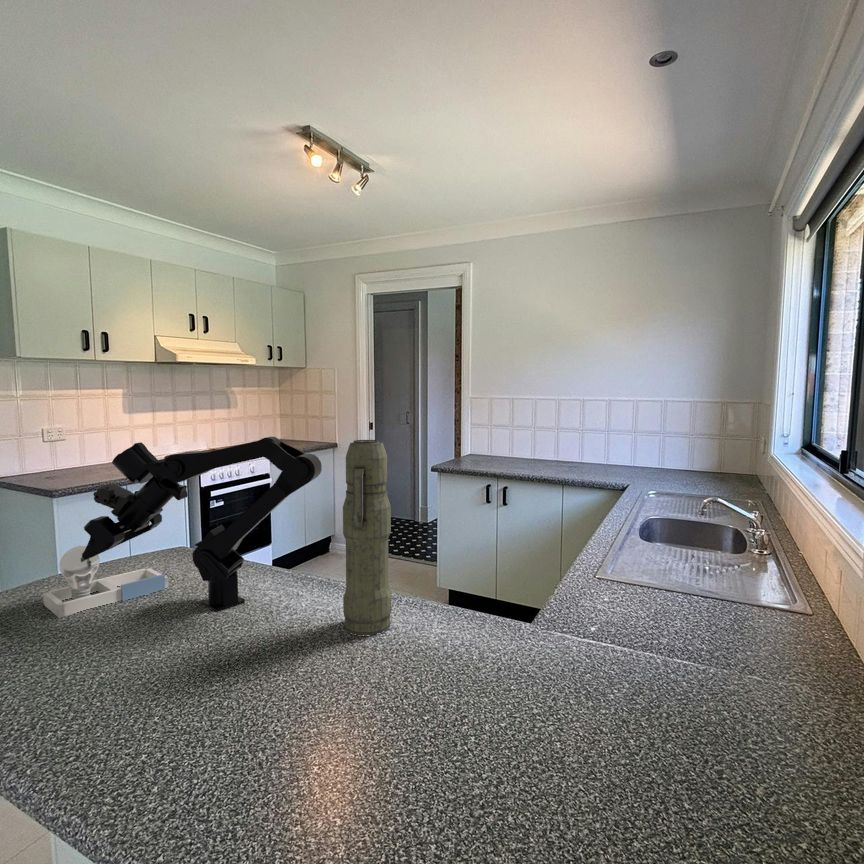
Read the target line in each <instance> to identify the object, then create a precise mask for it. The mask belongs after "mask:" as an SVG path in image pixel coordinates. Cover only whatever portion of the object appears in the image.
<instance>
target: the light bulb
mask: <svg viewBox="0 0 864 864" xmlns="http://www.w3.org/2000/svg"><path fill="white" fill-rule="evenodd" d="M86 546H87V545H79V546H75V547H72V548H70V549H68V550H67V551H66V552H64V554H63V555H62V556H61V559H60V561H59V565H58V567H59V571H60V574H61V575H62V576H63V577H64V579H66V581H67V583H68V586H69V587H70V589H71V590H72V591H71V593H72V594H71V595H72V597H71V598H72V600H75V599H79V598H83V597H87V596H91V595H92V594H90V593H91V592H90V586H91V584H92V581H93V578H94V576H95V574H96V572H97V571H98V569H99V566H100V563H101V560H100V556H99V554H98V555H96V556H93V557H91V558H89V559H87V560H85V559H84V558H83V557H82V555H83V553H84V551H85V549H86Z"/></svg>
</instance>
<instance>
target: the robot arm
mask: <svg viewBox="0 0 864 864" xmlns="http://www.w3.org/2000/svg"><path fill="white" fill-rule="evenodd" d="M261 458H265V459H266V460H267V461H269V462H270V463H271V464H273V465H274V467H276V468H277V469H278V470H279V471H281V472H280V474H279V475H278V476H277V479H275V482H274V484H272V486H270V487H269V488H268V489H267V490H266V491H265V492H264V493H263V494H262V495H261V496H260V497H259V498H257V500H255V501H254V502H253V503H251V505H250V506H249V507H248V508H247V509H245V511H243V512H242V513H241V514H240V515H239V516H238V517H237V518H236V519H235V520H234V521H233V522H232V523H231V524H229V525H228V526H227V527H226V528H225V527H224V526H223V524H220V525H219V526H217V527H215V528H213V529H210V531H208V533H207V534H206V535H205V536H204V537H203V539H202V540H200V541H198V542H197V543H195V544H194V546H195V547H196V548H194V550H193V552H192V555H191V556H192V562H193V565H194V566H195V567H196V568H197V571H198V572H199V575H200V577H201V579H202V581H203V582H207V584H208V585H207V587H208V590H207V591H208V592H207V593H208V598H207V599H204V600H201V604H202V605H203V606H205V605H206V606H205V607H207V608H209V609H212V610H213V611H215V612H218V611H221V610H224V609H228V608H231V607H234V606H237V605H240V604H242V603H246V598H243V597H241V596H239V575H238V570H239V569H241V568H242V566H243V563H244V561H245V557H243V556H242V555H241V554H240V553H239V552H238V551H237V549H238V547H239V546H240V544H241V543H242V541H243V539H244V538H245V537H246V536H247V535H248V534H249V533H250V532H251V531H252V530H253V529H255V528H256V527H257V525H259V524H260V523H261V522H262V521H263V520H264V519H265V518H267V516H269V515H270V514H271V513H272V512H273V511H274V510H275V509H276V508H277V507H278V506H279V505H281V504H282V503H283V502H284V501H285V500H286V499H287V498H288V497H290V495H292V494H293V493H295V492H296V491H298V490H299V489H301V488H302V487H305V486H306V485H307V484H309V483H310V482H312V481H313V480H315V479H317V478H318V477H319V475H321V473H322V469H323V468H322V461H321V460H320V459H319V456H317V455H315V454H314V453H308V452H307V453H305V452H303V450H302V451H301V450H300V449H299V448H296V447H294V446H291V445H290V444H288V443H285V442H283V441H282V440H280V438H277V436H267V437H263V438H261V439H259V440H253V441H251V442H246V443H243V444H237V445H233V446H232V445H231V446H228V447H224V448H220V449H215V450H193V451H185V452H184V451H183V452H178V453H175V454H169V455H168V456H166V457H165V458H161V459H158V458H157V457H156V456H155V455H153V454H152V452H150V450H148V447H147V446H146V445H145V444H144V443H143V442H135V443H134V444H133V445H132V446H130V447H128V448H126V449H124V450H123V451H122V452H121V453H118V454H117V455H116V456H115V457H114V458H113V460H112V461H111V464H112V465H113V466H114V467H115V468H116V469H117V470H118V471H119V473H121V474H122V475H123V476H124V477H125V478H126V479H127V480H128V481H129V482H130V483H131V484H135V483H139V484H143V486H142V487H141V488H139V490H138V491H136V492H135V493H133V492H132V491H131V490H129V489H127V488H124V487H122V486H121V485H118V484H115V483H108V484H105V485H101V486H100V487H98V488H97V489H96V491H94V492H93V500H94V502H95V503H97V504H100V505H102V506H105V507H108V508H110V509H112V510H111V511H110V513H111V514H112V515H113V516H114V517H116V519H117V521H118V522H115V521H114V520H113V519H112V518H111V517H110V516H108V515H107V516H106V515H103V516H102V515H101V516H99V517H96V518H93V519H90V520H89V521H88V522H87V523H86V524H85V525H84V526H83V530H84V531H85V532H86V533H87V534H88V535H89V540H88V543H87V544H86V545H85V546H86V549H85V551H84V553H83V555H82V557H83V558H84V559H85V560H87V559H89V558H91V557H93V556H96V555H98V556H99V555H100V554H102V553H105V552H106V551H109V550H111V549H113V548H116V547H117V546H119V545H122V544H123V543H126V542H128V541H129V540H132V539H134V538H136V537H139V536H141V535H143V534H146V533H147V532H149V531H151V530H153V529H155V528H156V527H158V526H159V525H160V524H161V523H162V522H163V515H162V514H161V513H162V512H163V511H164V507H165V506H166V505H167V503H169V501H170V500H172V499H173V498H175V500H177V501H181V500H183V499H186V498H188V489H187V488H188V486H187V485H186V484H185V485H183V484H182V485H181V482H184V481H187V480H190V479H193V478H196V477H199V476H201V475H204V474H206V473H209V472H210V471H212V470H215V469H217V468H223V467H226V466H231V465H235V464H240V463H244V462H249V461H253V460H256V459H261ZM144 483H145V484H144Z"/></svg>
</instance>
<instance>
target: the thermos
mask: <svg viewBox="0 0 864 864" xmlns="http://www.w3.org/2000/svg"><path fill="white" fill-rule="evenodd" d="M387 483H388V454H387V451H386V449H385V445H384V442H383V441H382V442H381V441H380V440H378V439H356V440H353V442H350V443H349V446H348V447H347V451H346V454H345V484H346V490H345V497H344V498H345V499H344V501H343V505H342V535H343V537H344V539H345V592H344V594H343V597H342V599H343V600H342V601H343V602H342V603H343V604H342V606H343V607H342V608H343V617H344V624H343V625H344V626H343V627H344V630H345V631H346V632H347V631H348V632H349V633H348V632H347V633H348V634H350V633H352V634H356V635H355V636H357V635H373V636H375V635H374V634H377V633H381V634H383V633H384V632H383V631H385V632H387V631H388V630H389V629H390V628H391V623H392V621H391V613H392V592H391V588H390V585H389V537H390V535H391V531H392V530H391V528H392V527H391V525H392V524H391V523H392V516H391V513H392V509H391V507H392V506H391V503H390V500H389V497H388V489H387ZM389 627H390V628H389ZM388 628H389V629H388ZM386 630H387V631H386ZM382 632H383V633H382ZM352 634H351V635H352Z"/></svg>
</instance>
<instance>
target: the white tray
mask: <svg viewBox="0 0 864 864" xmlns="http://www.w3.org/2000/svg"><path fill="white" fill-rule="evenodd" d="M117 586H120V587H117ZM167 587H168V588H169V577H168V576H166V575H165V574H163V573H161V572H159V571H156V570H154V569H152V568H150V567H145V568H141V569H137V570H133V571H127V572H125V573H120V574H114V575H111V576H106V577H103V578H98V579H94V580H93V579H92V584H91V586H90V592H96V591H98V592H99V593H98V592H96V593H94V594H91V596H87V597H83V598H79V599H75V600H71V599H69V598H71V597H72V595H71V594H72V593H71V591H72V590H71V589H70V587H69V585H67V586H65V587H64V586H63V587H60V588H56V589H52V590H51V589H50V590H48V591H47V590H46V591H42V603H43V604H42V605H44V606H45V608H47V609H48V610H50V611H51V613H53V615H55V616H56V617H58V618H59V619H60V618H63V617H68V616H71V615H75V614H78V613H77V612H79V613H81V612H80V611H82V612H84V611H83V610H86V609H90V608H94V607H97V608H99V607H98V606H101V607H103V606H102V605H105V606H107V605H106V604H108V605H111V604H110V603H112V604H115V602H116V603H118V601H119V602H126V601H125V600H127V601H129V600H128V599H130V600H133V599H132V598H134V599H137V598H136V597H138V598H140V597H139V596H142V597H144V596H143V595H145V596H147V595H146V594H149V595H151V594H150V593H153V592H156V591H159V590H163V589H165V588H167ZM168 588H167V589H168ZM165 590H166V589H165ZM156 593H157V592H156ZM153 594H154V593H153ZM65 599H68V600H65ZM62 600H64V602H63V601H62ZM121 600H122V601H121ZM94 609H95V608H94ZM90 610H91V609H90ZM86 611H87V610H86ZM74 613H75V614H74Z"/></svg>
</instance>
